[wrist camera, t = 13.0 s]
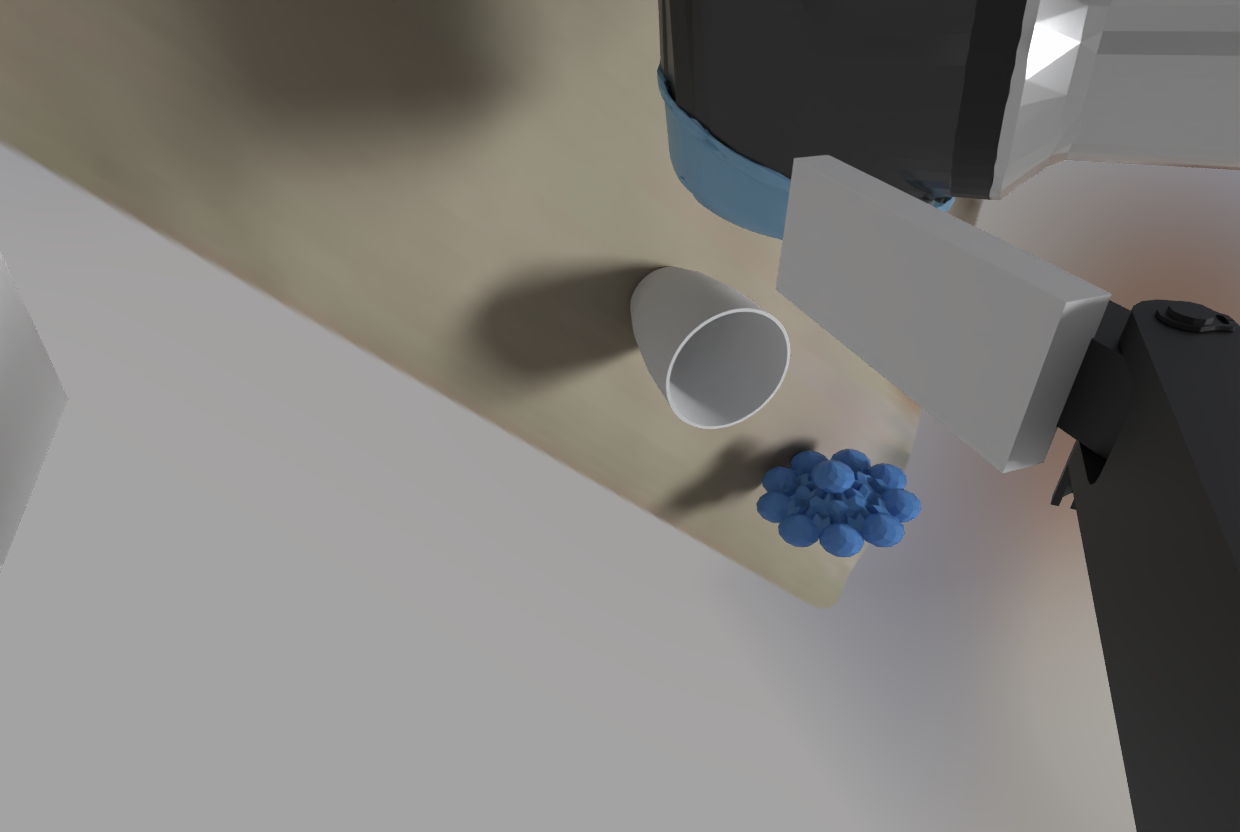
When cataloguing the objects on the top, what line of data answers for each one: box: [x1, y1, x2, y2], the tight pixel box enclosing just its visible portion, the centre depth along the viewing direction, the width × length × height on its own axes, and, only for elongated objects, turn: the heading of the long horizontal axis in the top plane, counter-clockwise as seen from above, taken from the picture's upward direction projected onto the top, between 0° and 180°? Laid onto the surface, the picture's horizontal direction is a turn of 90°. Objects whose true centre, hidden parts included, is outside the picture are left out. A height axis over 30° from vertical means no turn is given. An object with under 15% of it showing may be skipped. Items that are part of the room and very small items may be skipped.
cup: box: [630, 267, 790, 429], centre depth 50 cm, size 8×8×10 cm
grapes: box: [757, 449, 921, 557], centre depth 62 cm, size 12×7×12 cm, turn 105°
